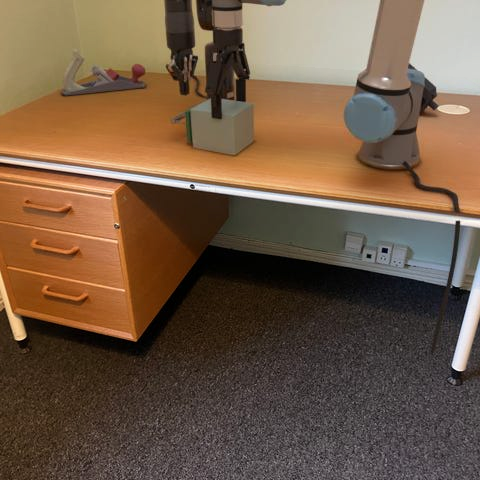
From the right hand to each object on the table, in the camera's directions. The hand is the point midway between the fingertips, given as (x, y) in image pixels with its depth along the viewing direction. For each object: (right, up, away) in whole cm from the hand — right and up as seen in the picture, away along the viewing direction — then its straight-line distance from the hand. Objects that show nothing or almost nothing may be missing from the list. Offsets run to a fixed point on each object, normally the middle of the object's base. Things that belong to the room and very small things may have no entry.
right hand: (229, 110), depth 144 cm
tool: (+56, +7, +28) cm, 63 cm away
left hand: (-12, +6, +4) cm, 14 cm away
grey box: (-2, -8, +6) cm, 10 cm away
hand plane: (-47, +21, +55) cm, 75 cm away
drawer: (-7, -6, +8) cm, 12 cm away
